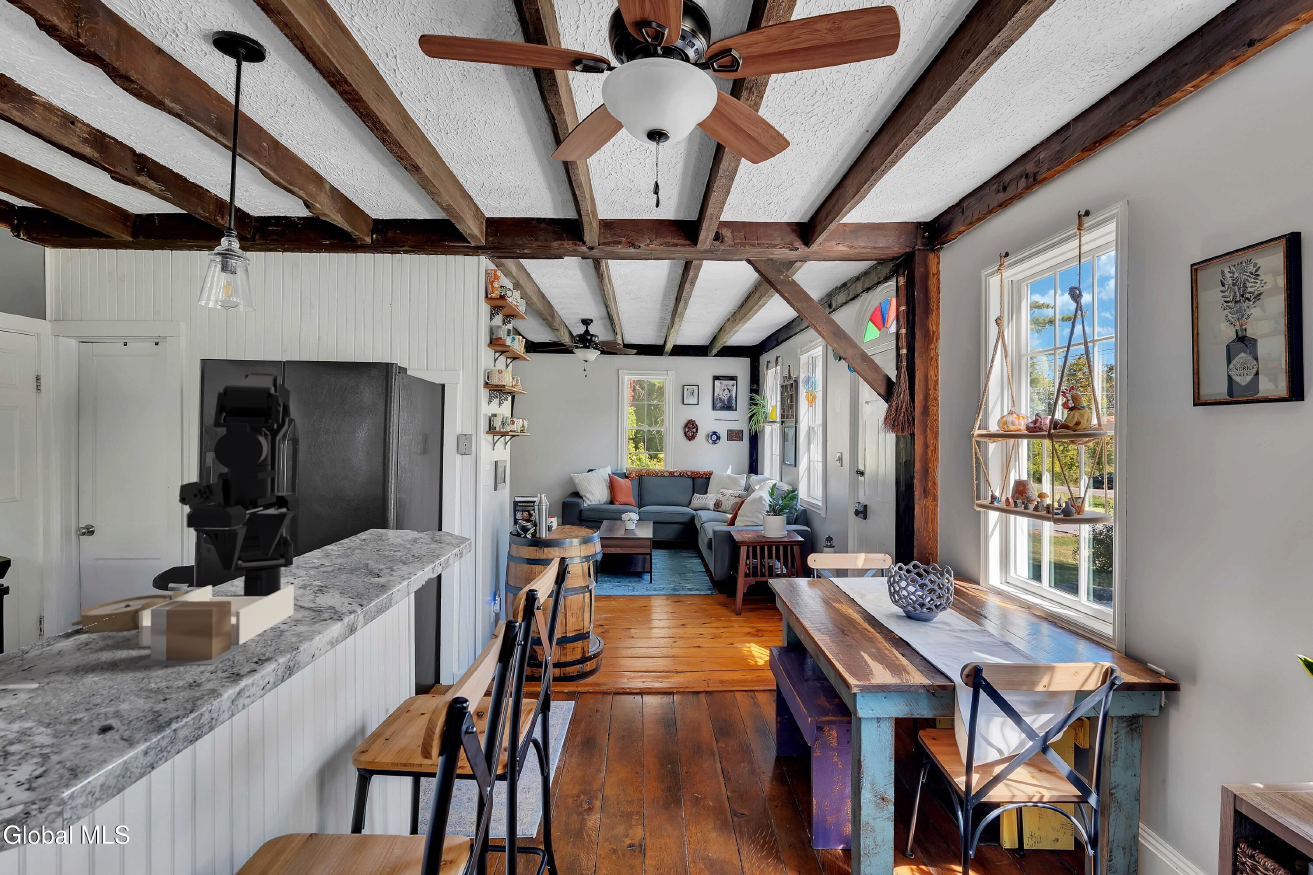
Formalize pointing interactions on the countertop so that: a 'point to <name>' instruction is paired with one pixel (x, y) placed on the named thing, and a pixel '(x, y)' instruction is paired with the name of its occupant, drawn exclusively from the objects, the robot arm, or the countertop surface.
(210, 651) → the walnut block
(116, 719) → the countertop surface
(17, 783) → the countertop surface
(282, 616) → the drawer
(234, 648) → the slate mat
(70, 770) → the countertop surface
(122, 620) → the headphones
